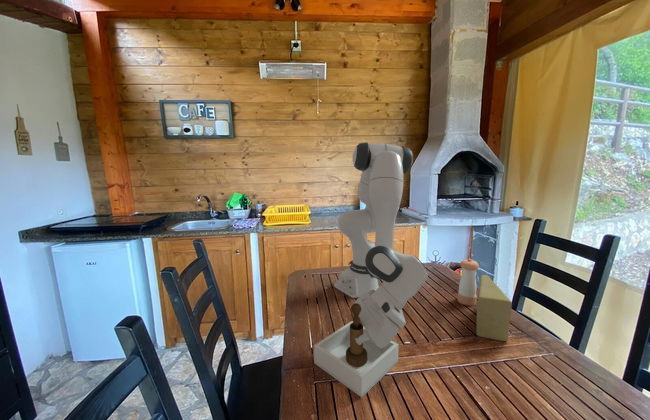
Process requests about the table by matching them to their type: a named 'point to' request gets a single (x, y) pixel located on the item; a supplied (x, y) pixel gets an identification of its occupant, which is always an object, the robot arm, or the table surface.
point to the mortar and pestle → (355, 352)
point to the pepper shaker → (468, 283)
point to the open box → (355, 378)
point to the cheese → (492, 311)
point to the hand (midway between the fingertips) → (354, 337)
